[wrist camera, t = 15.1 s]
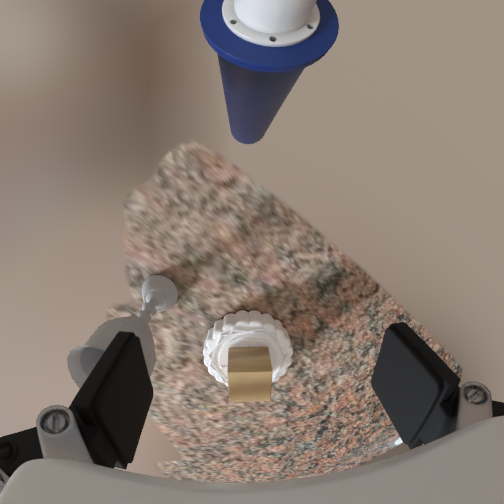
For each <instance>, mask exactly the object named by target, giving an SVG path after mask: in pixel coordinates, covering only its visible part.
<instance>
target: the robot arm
mask: <svg viewBox="0 0 504 504" xmlns="http://www.w3.org/2000/svg"><path fill="white" fill-rule="evenodd" d="M316 1H317V0H224V2H223V6H222V15H223V19H224V21H225V23H226V25H227V27H228V28H229V29H230V30H231V31H232V32H233V33H234V34H236V35H237V36H238V37H240V38H242V39H244V40H246V41H248V42H251V43H254V44H258V45H262V46H270V47H285V46H291V45H295V44H298V43H301V42H303V41H304V40H306V39H308V38H309V37H310V36H311V35H312V34H313V33H314V32H315V30H316V29H317V27H318V25H319V21H320V13H319V9H318V7H317V5H316ZM273 41H274V42H273ZM459 382H460V379H459V377H458V376H457V375H456V374H455V373H454V372H453V371H452V370H451V369H450V368H449V367H448V366H447V365H446V364H445V363H444V361H443V360H442V359H441V358H440V357H439V356H438V355H437V354H436V353H435V352H434V351H433V350H432V349H431V348H430V347H429V346H428V345H427V344H426V343H425V342H424V341H423V340H422V339H421V338H420V337H419V336H418V335H417V334H416V333H415V332H414V331H413V330H412V329H411V328H410V327H409V326H408V325H407V324H406V323H404V322H400V323H394V324H391V325H390V326H389V328H387V329H386V331H385V334H384V338H383V342H382V345H381V349H380V353H379V356H378V359H377V363H376V366H375V369H374V373H373V376H372V379H371V385H372V388H373V390H374V391H375V393H376V395H377V397H378V398H379V400H380V402H381V403H382V405H383V407H384V409H385V410H386V412H387V414H388V416H389V418H390V419H391V421H392V423H393V425H394V426H395V428H396V430H397V432H398V434H399V436H400V437H401V439H402V441H403V442H404V443H405V444H408V446H409V448H410V449H413V448H416V447H418V446H421V445H422V444H424V445H423V446H421V447H418V448H416V449H413V450H411V451H408V452H405V453H402V454H400V455H397V456H394V457H391V458H388V459H385V460H382V461H378V462H375V463H372V464H368V465H364V466H361V467H357V468H353V469H348V470H344V471H340V472H335V473H330V474H325V475H319V476H313V477H306V478H299V479H291V480H282V481H270V482H250V483H217V482H198V481H186V480H177V479H169V478H162V477H155V476H148V475H142V474H137V473H132V472H127V471H123V470H118V469H114V467H117V468H122V469H126V468H127V464H128V463H132V461H133V458H134V455H135V451H136V448H137V445H138V442H139V439H140V435H141V432H142V429H143V426H144V423H145V419H146V416H147V413H148V410H149V407H150V404H151V401H152V398H153V387H152V384H151V380H150V377H149V373H148V369H147V366H146V362H145V358H144V354H143V350H142V346H141V341H140V338H139V337H138V336H136V335H135V333H133V332H125V331H119V332H118V333H117V334H116V336H115V337H114V339H113V340H112V341H111V343H110V344H109V346H108V347H107V349H106V350H105V352H104V353H103V355H102V356H101V358H100V359H99V361H98V362H97V364H96V365H95V367H94V368H93V370H92V371H91V373H90V374H89V376H88V377H87V379H86V381H85V382H84V384H83V385H82V387H81V388H80V390H79V392H78V393H77V395H76V396H75V398H74V400H73V401H72V403H71V405H70V407H69V408H67V407H64V406H61V405H54V406H49V407H47V408H45V409H44V410H42V411H41V412H40V414H39V415H38V417H37V420H36V427H34V428H31V429H28V430H24V431H21V432H18V433H14V434H10V435H7V436H3V437H1V438H0V504H504V403H502V402H497V401H492V398H491V393H490V391H489V390H488V388H487V387H486V386H485V385H483V384H481V383H478V382H467V383H465V384H463V385H462V387H461V388H460V387H459V386H458V384H459Z"/></svg>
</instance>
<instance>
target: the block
mask: <svg viewBox="0 0 504 504" xmlns="http://www.w3.org/2000/svg"><path fill="white" fill-rule="evenodd" d="M227 376H228V390H229V401H230V402H244V401H270V400H271V388H272V366H271V360H270V354H269V348H268V347H236V348H228V367H227Z"/></svg>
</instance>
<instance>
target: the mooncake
mask: <svg viewBox="0 0 504 504" xmlns="http://www.w3.org/2000/svg"><path fill="white" fill-rule="evenodd" d="M236 347H268V348H269V354H270V360H271V366H272V382H276V381H278V380H279V378H280V375H284V374H285V373H286V372H287V370H288V368H287V367H288V366H289V365H290V364H291V363H292V358H291V356H292V354H293V348H292V345H291V341H290V338H289V335H288V332H287V330H286V329H285V328H283V327H282V324H281V322H280V321H279V320H276V319H273V318H272V316H271V315H269V314H266V313H265V314H261V313H260V312H259V311H256V310H253V311H250V312H249V313H248V312H247V311H244V310H241V311H238V312H237V313H236V314H232V313H230V314H227V315H225V317H224V319H220V320H217V321H216V322H215V324H214V327H213V328H211V329H209V331H208V334H207V338H206V340H205V344H204V349H203V354H204V356H205V357H204V364H205V365H206V366H207V367H208V371H209V373H210V374H211V375H213V376H215V378H216V380H217V381H219V382H223V383H225V384H226V385H227V386H228V376H227V367H228V348H236Z"/></svg>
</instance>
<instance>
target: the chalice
mask: <svg viewBox="0 0 504 504" xmlns="http://www.w3.org/2000/svg"><path fill="white" fill-rule="evenodd" d="M142 295H143V301H144V304H143V305H142V310H143V311H140V312H139V313H138V317H137V316H129V317H121V318H116V319H113V320H110V321H107V322H105V323H103V324H102V325H100V326H99V327H98V329H97V330H96V331H95V332H94V334H93V335H92V336H91V337H90V338H89V340H88V341H87V342H86V343H85V345H83V346H78V347H76V348H74V349H73V350H71V351H70V353H69V356H68V358H67V361H68V369H69V371H70V374H71V376H72V379H73V380H74V381H75V383H76V384H77V386H78V387H79V388H81V387H82V385H83V384H84V382H85V381H86V379H87V377H88V376H89V374H90V373H91V371H92V370H93V368H94V367H95V365H96V364H97V362H98V361H99V359H100V358H101V356H102V355H103V353H104V352H105V350H106V349H107V347H108V346H109V344H110V343H111V341H112V340H113V339H114V337H115V336H116V334H117V333H118V332H119V331H125V332H133V333H135V335H136V336H138V337H139V338H140V341H141V346H142V350H143V354H144V358H145V362H146V366H147V369H148V373H149V377H150V376H151V373H152V371H153V368H154V365H155V361H156V356H155V346H154V341H153V337H152V334H151V330H150V327H149V325H148V324H147V323H149V322H150V321H151V316H154V315H155V314H156V311H164V310H167V309H170V308H171V307H173V306H174V305H175V304H176V302H177V299H178V291H177V288H176V286H175V285H174V283H173V282H172V281H171V280H170V279H168V278H167V277H165V276H162V275H153V276H150V277H148V278H147V279H146V280H145V281H144V283H143V286H142Z"/></svg>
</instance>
